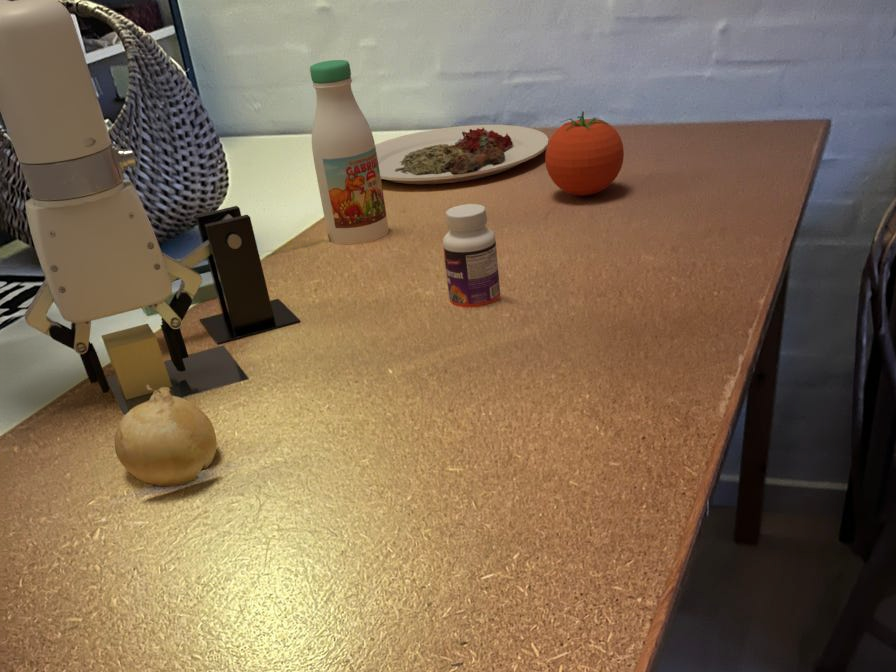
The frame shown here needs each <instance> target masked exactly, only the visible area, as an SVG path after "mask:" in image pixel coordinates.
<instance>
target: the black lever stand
mask: <svg viewBox="0 0 896 672" xmlns="http://www.w3.org/2000/svg"><path fill="white" fill-rule="evenodd" d="M227 214H230V215H231V216H232V217H233V218H230V219H226V220H222V221H219V220H220V219H222V218H223V217H224V216H226V215H227ZM194 217H195V220H196V224H197V227H198V232H199V234H200V238H201V242H202V244H203V243H204V242H205V241H207V240H209V243H210V247H211V251H212V254H211V255H210V256H208V257H207V260H206V261H207V264H209V268H210V272H209V273H210V276H211V278H212V279H211V280H212V282H213V283H214V286H215V290H216V293H217V297H218V298H217V300H218V304H219V307H220V313H218V314H214V315H211V316H208V317H204V318H199V320H198V321H199V323H200V324H201V325H202V326H203V328H204V329H205V330H206V332H207V333H208V335H209V336H210V337H211V338H212V340H213V341H214V342H215V344H216V345H217V346H221V345H223V344H227V343H230V342H234V341H237V340H238V341H239V340H241V339H245V338H249V337H252V336H256V335H260V334H264V333H267V332H272V331H274V330H278V329H282V328H286V327H289V326H293V325H297V324H300V323H301V320H300V319H299V317H298V316H297V315H295V314H294V313H293V311H291V309H290V308H288V307H287V306H286V305H285V304H284V302H282V300H281V299H279V298H276V299H272V300H271V297H270V294H269V291H268V286H267V282H266V278H265V273H264V269H263V265H262V261H261V256H260V253H259V252H260V251H259V249H258V245H257V239H256V235H255V231H254V228H253V224H252V220H251V216H250V215H249V214H243V215H242V212H241V208H240V207H239V206H238V205H234V206H230V207H225V208H222V209H216V210H212V211H208V212H203V213H200V214H199V213H198V214H196V215H195V216H194Z"/></svg>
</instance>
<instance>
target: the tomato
mask: <svg viewBox="0 0 896 672" xmlns="http://www.w3.org/2000/svg"><path fill="white" fill-rule="evenodd" d="M584 115H585V111H581V115H578V116H577V117H576V119H577V120H576V119H575V120H574V119H572V118H571V117H569V118H568V119H565V120H562V121H560V123H564V122H565V123H564V124H562V125H561V126H560V127H558V128H557V129H556V130H555V131H554V133H553V134H552V135H551V136H550V138H549V139H548V141H549V142H548V145H547V148H546V149H545V158H544V159H545V162H544V163H545V167H546V168H545V169H546V171H547V173H548V176H549V178H550V179H551V180H552V182H553V183H554V185H555V186H557V188H559V189H560V190H562V191H564V192H565V193H567V194H570V195H574V196H578V197H579V196H581V197H582V196H592V195H595V194H597V193H600V192H602V191H604V190H605V189H607V188H608V187H609V186H610V185H612V184H613V182H614V181H615V180H616V179H617V178H618V176H619V173H620V172H621V170H622V167H623V165H624V164H623V163H624V155H625V152H624V144H623V141H622V138H621V137H622V136H621V135H620V134H619V132H618V131H617V129H616V128H615V127H613V126H612V125H611V124H609V122H606V121H605V120H603V119H601V118H600V117H592V118H585V117H584ZM568 120H570V121H568ZM566 121H568V122H566Z"/></svg>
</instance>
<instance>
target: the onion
mask: <svg viewBox="0 0 896 672" xmlns="http://www.w3.org/2000/svg"><path fill="white" fill-rule="evenodd" d="M146 388H147V390H149V392H151V391H153V395H152V396H151V398H150V400H149V401H147V402H144V403H142V404H140V405H137V406H136V407H134V408H133V409H131V410H130V411H129V412H128V413H127V414H125V415H123V417H121V419H120V421H119V422H118V425H117V427H116V430H115V434H114V451H115V454H116V457H117V459H118V460H119V463H120V464H122V466H123V467H124V469H125V470H126V471H128V473H130V475H132V476H133V477H134V478H136V479H137V480H139V481H140V482H144V483H145V484H150V485H152V486H153V487H157V488H168V487H173V486H180V485H183V484H189V483H191V482H194V481H195V480H197V479H199V476H197V475H198V474H199V473H201V471H202V470H206V469H207V468H208V467H209V466H210V465H212V463H213V460H214V458H215V456H216V452H217V448H218V447H217V445H218V441H217V436H216V431H215V428H214V424H213V423H212V421H211V420H210V417H208V415H207V414H206V413H205V412H204V411H203V410H202V409H201V408H200V407H198V406H197V405H196V404H194V402H193V403H192V402H191V401H189V400H187V399H185V398H180V397H176V396H171V393H170V389H169V388H165V387H162V388H160V389H159V390H154V389H151V387H149V385H146Z"/></svg>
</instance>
